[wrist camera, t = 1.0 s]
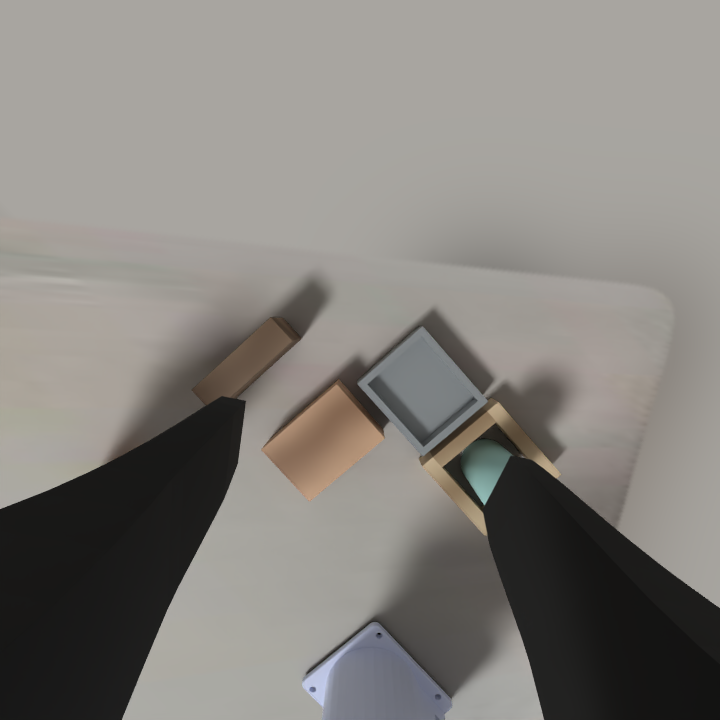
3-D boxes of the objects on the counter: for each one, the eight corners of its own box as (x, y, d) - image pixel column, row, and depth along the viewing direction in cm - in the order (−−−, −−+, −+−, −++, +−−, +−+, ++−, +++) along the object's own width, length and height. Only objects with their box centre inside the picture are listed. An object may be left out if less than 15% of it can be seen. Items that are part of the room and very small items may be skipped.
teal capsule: (518, 464, 27) (561, 503, 21) (481, 494, 27) (514, 541, 22) (487, 429, 27) (522, 459, 21) (450, 460, 27) (475, 498, 21)
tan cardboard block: (382, 427, 27) (384, 438, 25) (314, 485, 28) (309, 501, 25) (339, 378, 27) (336, 384, 25) (270, 438, 28) (261, 449, 25)
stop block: (301, 338, 26) (292, 341, 23) (232, 401, 27) (212, 412, 23) (282, 317, 26) (270, 317, 23) (213, 381, 27) (191, 389, 23)
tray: (481, 397, 27) (488, 401, 25) (419, 449, 27) (422, 456, 26) (419, 325, 26) (422, 326, 25) (357, 380, 27) (357, 383, 25)
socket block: (550, 466, 27) (561, 474, 26) (478, 524, 28) (485, 536, 26) (490, 397, 27) (498, 402, 25) (418, 458, 27) (422, 466, 26)
